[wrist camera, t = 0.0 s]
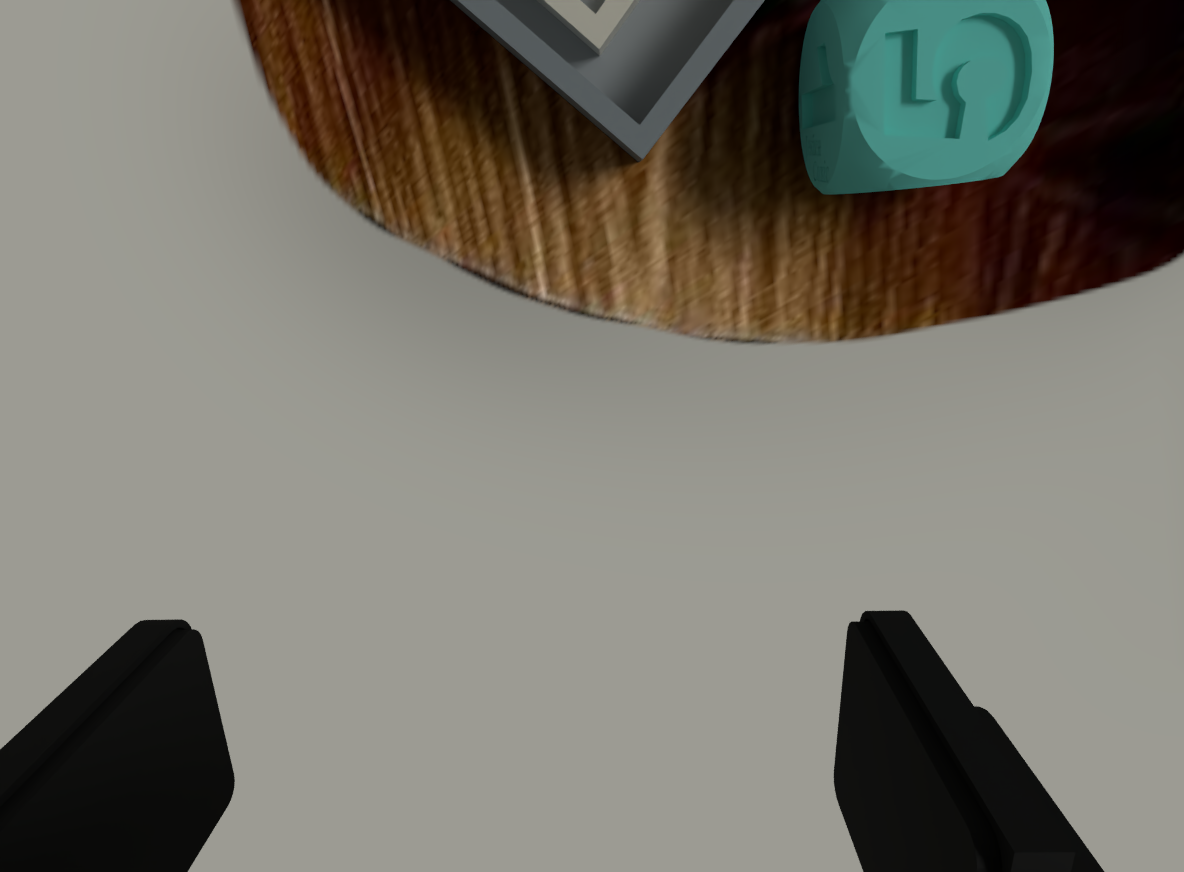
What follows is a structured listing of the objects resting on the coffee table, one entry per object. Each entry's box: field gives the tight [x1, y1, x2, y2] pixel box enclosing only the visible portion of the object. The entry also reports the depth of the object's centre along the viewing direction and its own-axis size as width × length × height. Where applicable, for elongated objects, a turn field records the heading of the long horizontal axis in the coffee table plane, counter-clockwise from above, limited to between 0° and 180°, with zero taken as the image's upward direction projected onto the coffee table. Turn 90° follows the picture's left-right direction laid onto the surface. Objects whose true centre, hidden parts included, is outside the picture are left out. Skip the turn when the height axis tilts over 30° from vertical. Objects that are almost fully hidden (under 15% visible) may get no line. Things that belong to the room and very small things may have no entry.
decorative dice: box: [799, 0, 1054, 194], centre depth 33 cm, size 8×8×8 cm
